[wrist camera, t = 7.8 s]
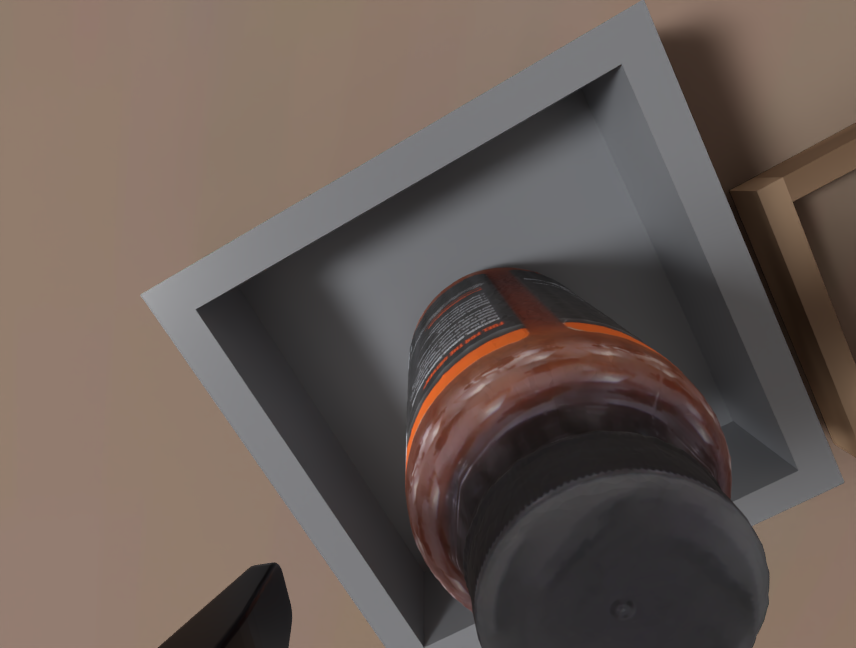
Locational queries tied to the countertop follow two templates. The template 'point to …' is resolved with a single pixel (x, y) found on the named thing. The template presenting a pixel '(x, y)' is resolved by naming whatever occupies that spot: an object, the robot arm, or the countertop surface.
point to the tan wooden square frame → (805, 274)
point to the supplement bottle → (571, 477)
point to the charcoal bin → (474, 251)
